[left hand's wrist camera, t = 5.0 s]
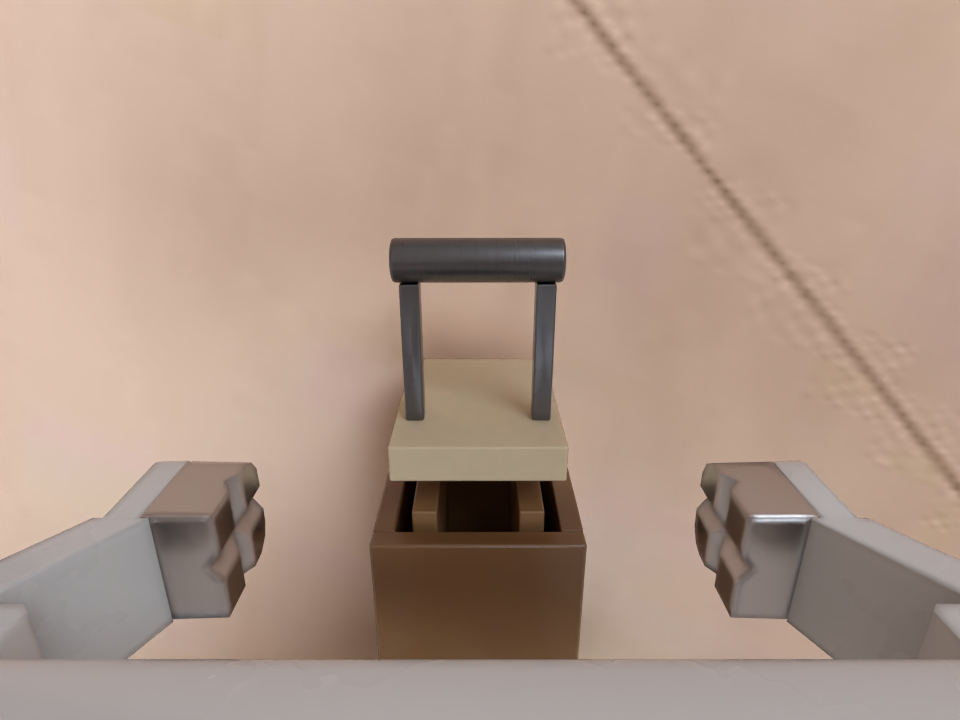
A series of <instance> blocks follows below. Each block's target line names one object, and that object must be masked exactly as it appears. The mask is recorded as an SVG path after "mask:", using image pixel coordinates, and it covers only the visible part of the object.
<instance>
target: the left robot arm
mask: <svg viewBox="0 0 960 720" xmlns="http://www.w3.org/2000/svg"><path fill="white" fill-rule="evenodd" d="M259 486H260V485H259V480H258V475H257V470H256V467H255V466H254V465H253V464H252V463H248V462H196V461H193V462H190V461H163V462H157V463H155V464H154V465H153V466H152V467H151V468H150V469H149V470H148V471H147V472H146V473H145V474H144V475H143V476H142V477H141V478H140V479H139V481H138V482H137V483H136V484H135V485H134V486H133V487H132V488H131V489H130V490H129V491H128V492H127V493H126V494H125V495H124V496H123V497H122V498H121V500H120V501H119V502H118V503H117V504H116V505H115V506H114V507H113V508H112V509H111V510H110V511H109V512H108V513H107V514H106V515H105V516H104V517H103V518H92V519H90V520H88V521H85V522H83V523H81V524H79V525H77V526H74V527H72V528H70V529H68V530H66V531H63V532H61V533H59V534H57V535H55V536H52V537H50V538H48V539H46V540H44V541H41V542H39V543H37V544H35V545H33V546H30V547H28V548H26V549H24V550H22V551H19V552H17V553H15V554H13V555H11V556H8V557H6V558H4V559H2V560H0V720H960V560H958V559H956V558H954V557H951V556H949V555H947V554H945V553H943V552H941V551H938V550H936V549H934V548H932V547H930V546H927V545H925V544H923V543H921V542H919V541H916V540H914V539H912V538H910V537H908V536H905V535H903V534H901V533H899V532H897V531H894V530H892V529H890V528H888V527H886V526H883V525H881V524H879V523H877V522H875V521H873V520H870V519H868V518H857V517H856V516H855V515H854V514H853V513H852V512H851V511H850V510H849V509H848V508H847V507H846V506H845V505H844V504H843V503H842V501H841V500H840V499H839V498H838V497H837V496H836V495H835V494H834V493H833V492H832V491H831V490H830V489H829V488H828V487H827V486H826V485H825V484H824V482H823V481H822V480H821V479H820V478H819V477H818V476H817V475H816V474H815V473H814V472H813V471H812V470H811V469H810V468H809V467H808V466H807V464H805V463H803V462H800V461H779V462H742V463H710V464H706V466H705V468H704V471H703V474H702V479H701V485H700V486H701V488H702V489H703V491H704V493H705V494H706V496H707V499H706V500H705V501H704V502H703V503H702V504H701V505H700V506H699V507H698V508H697V511H696V519H695V536H696V544H697V548H698V551H699V555H700V557H701V559H702V561H703V563H704V565H705V566H706V567H707V568H709V569H710V570H712V571H713V572H715V573H716V574H717V575H716V581H715V587H716V589H717V591H718V593H719V595H720V597H721V599H722V601H723V603H724V605H725V607H726V609H727V611H728V613H729V615H730V617H736V618H773V619H787V622H788V623H790V624H791V625H792V626H793V627H795V628H796V629H797V630H798V631H800V632H801V633H802V634H803V635H804V636H806V637H807V638H808V639H809V640H811V641H812V642H813V643H814V644H816V645H817V646H818V647H819V648H821V649H822V650H823V651H824V652H826V653H827V654H828V655H829V656H830V657H832V658H833V659H127V658H129V657H130V656H131V655H132V654H134V653H135V652H136V651H137V650H138V649H140V648H141V647H142V646H143V645H145V644H146V643H147V642H148V641H150V640H151V639H152V638H153V637H155V636H156V635H157V634H158V633H160V632H161V631H162V630H163V629H165V628H166V627H167V626H168V625H169V624H171V623H172V622H173V619H187V618H222V617H230V615H231V613H232V611H233V609H234V607H235V605H236V603H237V601H238V599H239V597H240V595H241V593H242V591H243V589H244V587H245V580H244V573H245V572H247V571H248V570H250V569H251V568H253V567H254V566H255V565H256V563H257V561H258V559H259V557H260V555H261V552H262V548H263V543H264V538H265V517H264V510H263V508H262V507H261V506H260V505H259V504H258V503H257V502H256V501H255V500H254V499H253V496H254V495H255V493H256V491H257V489H258V488H259Z"/></svg>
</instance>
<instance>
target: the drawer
mask: <svg viewBox="0 0 960 720" xmlns="http://www.w3.org/2000/svg"><path fill="white" fill-rule="evenodd" d="M389 267H390V275H391V278H392V281H393V282H396V283H400V285H399V298H400V317H401V336H402V355H403V374H404V391H403V395H402V398H401V402H400V405H399V409H398V413H397V416H396V420H395V424H394V427H393V431H392V434H391V438H390V442H389V445H388V462H389V478H390V481H417V485H416V491H415V497H414V503H413V509H412V525H413V532H544V506H543V500H542V494H541V488H540V482H539V481H565V480H566V479H567V463H568V445H567V441H566V437H565V434H564V430H563V426H562V422H561V419H560V415H559V411H558V407H557V404H556V400H555V396H554V392H553V389H552V375H553V354H554V332H555V311H556V289H557V285H556V283H555V282H562V281H563V279H564V276H565V270H566V246H565V242H564V239H562V238H394V239H392V240H391V243H390V248H389ZM420 282H535V301H534V331H533V359H423V337H422V311H421V285H420Z"/></svg>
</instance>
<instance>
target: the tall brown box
mask: <svg viewBox="0 0 960 720" xmlns="http://www.w3.org/2000/svg"><path fill="white" fill-rule="evenodd" d="M539 482H540V488H541V494H542V500H543V506H544V532H413V525H412V509H413V503H414V497H415V491H416V485H417V481H390V478H389V472H388V476H387V480H386V484H385V488H384V492H383V496H382V499H381V503H380V507H379V511H378V515H377V519H376V523H375V527H374V531H373V535H372V539H371V543H370V557H371V569H372V581H373V593H374V605H375V617H376V629H377V640H378V652H379V659H578V651H579V638H580V626H581V613H582V600H583V587H584V574H585V561H586V549H587V545H586V541H585V537H584V534H583V528H582V524H581V520H580V516H579V512H578V508H577V504H576V500H575V496H574V492H573V488H572V484H571V479H570V475H569V471H568V467H567V479H566V480H565V481H539Z"/></svg>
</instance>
